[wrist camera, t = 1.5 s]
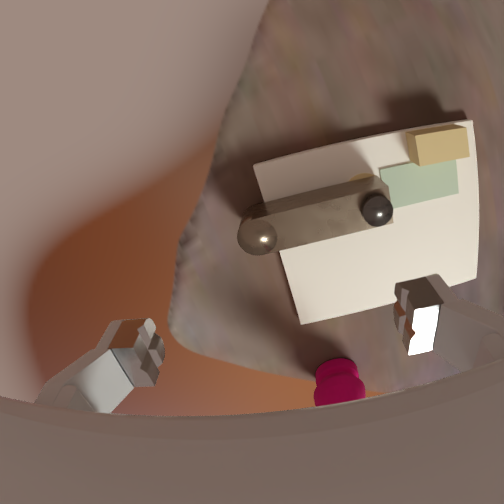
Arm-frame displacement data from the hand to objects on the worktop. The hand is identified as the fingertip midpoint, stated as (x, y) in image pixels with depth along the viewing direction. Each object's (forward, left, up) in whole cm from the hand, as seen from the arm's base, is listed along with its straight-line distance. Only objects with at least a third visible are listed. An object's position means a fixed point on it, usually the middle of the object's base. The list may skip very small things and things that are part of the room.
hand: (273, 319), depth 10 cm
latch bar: (-2, +5, -22) cm, 23 cm away
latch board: (-10, +10, -24) cm, 27 cm away
